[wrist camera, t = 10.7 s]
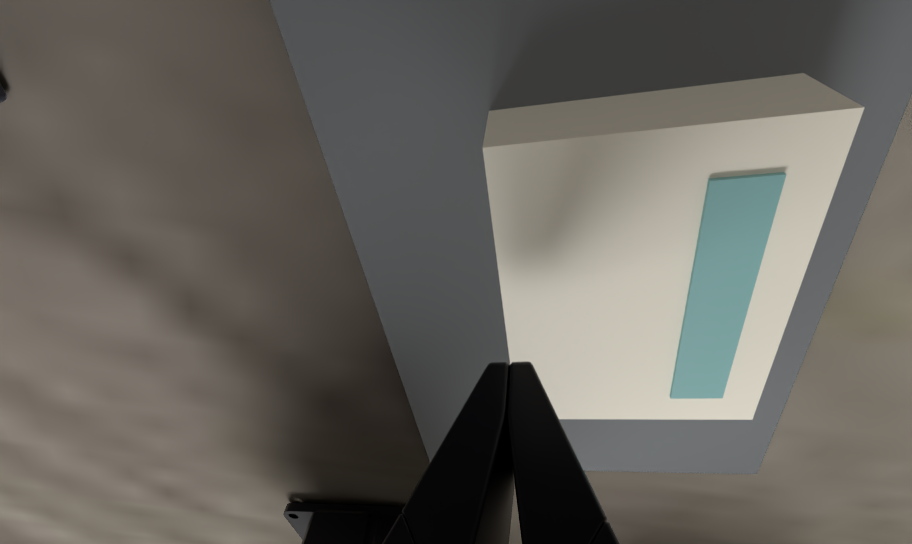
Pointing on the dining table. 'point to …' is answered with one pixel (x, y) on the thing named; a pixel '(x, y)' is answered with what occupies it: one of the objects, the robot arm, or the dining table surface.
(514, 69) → the rubber mat
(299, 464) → the dining table surface
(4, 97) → the small box
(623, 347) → the cream slab
